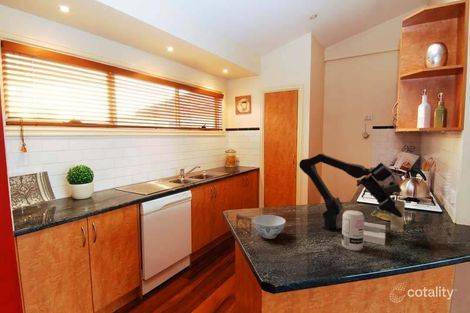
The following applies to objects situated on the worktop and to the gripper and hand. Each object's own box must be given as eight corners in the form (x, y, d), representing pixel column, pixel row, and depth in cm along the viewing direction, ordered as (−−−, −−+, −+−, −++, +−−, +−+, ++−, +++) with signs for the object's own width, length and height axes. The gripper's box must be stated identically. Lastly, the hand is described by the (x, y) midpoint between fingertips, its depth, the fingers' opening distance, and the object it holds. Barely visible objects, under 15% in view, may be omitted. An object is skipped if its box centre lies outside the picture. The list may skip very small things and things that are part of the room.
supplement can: (344, 241, 112) (345, 208, 111) (364, 246, 107) (366, 212, 106) (339, 247, 106) (340, 213, 105) (360, 253, 101) (361, 217, 99)
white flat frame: (354, 239, 114) (354, 232, 114) (358, 226, 130) (358, 220, 129) (384, 245, 108) (385, 237, 108) (385, 231, 123) (385, 224, 123)
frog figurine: (378, 213, 152) (382, 190, 149) (408, 226, 136) (413, 200, 133) (366, 215, 148) (370, 191, 145) (396, 228, 132) (401, 202, 129)
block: (390, 229, 110) (392, 202, 109) (390, 226, 114) (392, 199, 113) (402, 232, 108) (404, 203, 107) (402, 228, 112) (404, 201, 111)
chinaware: (260, 244, 109) (260, 227, 109) (249, 231, 124) (249, 216, 123) (291, 240, 113) (291, 223, 112) (276, 228, 128) (277, 213, 127)
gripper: (389, 179, 103) (420, 210, 98) (389, 173, 119) (416, 199, 114) (366, 196, 108) (395, 225, 103) (369, 188, 124) (394, 213, 119)
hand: (401, 215), depth 110 cm, fingers closed on block, 4 cm apart
